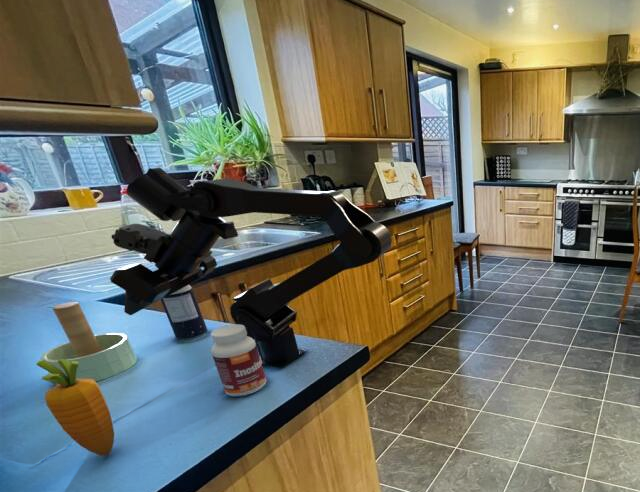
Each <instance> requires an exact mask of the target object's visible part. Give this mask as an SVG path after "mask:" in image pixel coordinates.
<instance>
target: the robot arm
mask: <svg viewBox="0 0 640 492" xmlns="http://www.w3.org/2000/svg"><path fill="white" fill-rule="evenodd" d="M125 193H126V196H128V198H130V199H132V200H133V201H134V202H136V203H137V204H138V205H140V206H141V207H142V208H144V209H145V210H146V211H148V212H150V213H151V214H152V215H154V216H155V217H156V218H158V219H159V221H163V222H169V221H173V222H177V223H176V225H175V226H174V228H173V229H172V231H171V232H170V233H167V232H165V231H163V230H160V229H157V228H154V227H151V226H148V225H145V224H142V223H131V224H126V225H123V226H119V227H118V228H117V229H115V232H114V233H113V234H111V236H110V238H111V239H112V240H113V242H112V243H113V244H114V245H115V246H116V247H117V248H121V249H124V250H128V251H130V252H131V251H134V252H137V253H140V254H145V255H144V256H143V259H144V260H145V261H147V262H149V263H150V264H151V263H153V264H154V266H155V267H156V268H157V269H155V270H152V269H150V268H149V267H147V266H145V265H144V264H142V263H131V264H128V265H125V266H122V267H120V268H117V269H115V270H114V272H113V273H112V275H111V276H110V277H109V280H110V282H111V283H112V284H114V285H116V286H117V287H119V288H120V289H122V290H123V291H125V298H124V308H123V309H124V310H123V311H124V313H125V314H127V315H128V316H133V315H135V314H137V313H139V312H140V311H143V310H144V309H146V308H147V307H149V306H151V305H153V304H155V303H157V302H158V301H161V299H162V298H164V297H165V296H166V297H167V296H169V295H171V294H172V293H174V292H176V291H178V290H180V289H182V288H184V287H185V286H187V285H191V284H193V283H195V282H197V281H199V280H200V279H202V278H204V277H206V276H208V274H210V273H212V272H213V271H214V270H215V268H216V267H217V265H218V262H217V259H216V257H214V256H212V254H213V250H212V248H213V246H214V245H215V244H216V242H217V241H218V240H219V238H221V239H223V240H229V239H233V238H238V237H239V233H238V231H237V229H236V227H235V223H234V221H225V220H224V219H223V218H226V217H233V216H241V215H247V214H253V213H254V214H255V213H257V214H270V215H271V214H273V215H288V216H289V215H290V216H291V215H292V216H309V217H311V216H312V217H320V218H322V219H323V220H324V221H325V222H326V223H327V226H328V227H329V228H330V230H331V232H332V233H333V235H334V237H335V238H336V239H337V240H338V241H339V243H338V244H337V245H336V246H335V247H334V248H333V250H332V251H330V253H328V254H327V255H325V256H323V257H321V258H320V259H318V260H316V261H315V262H313V263H311V264H310V265H308V266H306V267H305V268H303V269H301V270H299V271H297V272H296V273H294V274H293V275H291V276H290V277H287V278H286V279H284V280H282V281H281V282H278V283H273V282H272V280H271V279H270V278H267V279H265V280H263V281H261V282H259V283H258V284H256V285H254V286H252V287H250V288H248V289H247V290H246V291H244V292H241V293H240V294H238V295H236V296H234V297H233V298H232V301H234V302H232V303H231V304H230V307H229V313H230V317H231V320H232V321H233V323H234V324H241V325H244V326H245V328H246V331H247V336H248V337H251V338H252V339H253V340H254V341H255V344H256V347H257V350H258V353H259V357H260V360H261V363H262V366H267V367H272V368H279V369H281V368H284V367H286V366H288V365H289V364H290V363H292V362H293V361H295V360H297V359H298V358H299V357H301V356H302V355H304V354H305V353H306V349H303V348H302V349H301V348H299V347H298V342H297V340H296V336H295V332H294V328H293V327H291V326H290V325H291V324H293V323H295V322H296V321H297V316H298V312H297V310H295V309H294V308H292V307H291V306H289V304H290V303H291V302H292V301H294V300H295V299H297V298H299V297H300V296H302V295H304V294H306V293H307V292H309V291H311V290H312V289H314V288H316V287H317V286H319V285H321V284H323V283H324V282H326V281H328V280H330V279H331V278H333V277H335V276H336V275H339V274H340V273H342V272H344V271H347V270H352V269H357V268H359V267H362V266H365V265H368V264H371V263H374V262H375V261H376V260H378V259H379V258H380V257H381V256H383V255H384V254H385V253H387V252H388V251H389V250H390V249H391V247H392V243H393V238H392V234H391V232H390V230H389V229H388V228H387V227H386V226H385V225H383V224H382V223H379V222H377V221H376V220H374V218H373V217H372V216H370V215H369V214H368V213H367V212H365V211H364V210H363V209H361V208H360V207H358V206H357V205H355V204H354V203H352V202H351V201H350V200H349V199H348V198H347V197H346V196H345V195H344V194H343V193H341V192H340V191H338V190H328V191H325V190H324V191H322V190H305V189H304V190H303V189H288V188H272V187H271V188H270V187H266V188H265V187H260V186H255V185H253V184H251V183H249V182H245V181H241V180H237V179H233V178H232V179H231V178H228V177H227V178H218V179H208V180H200V181H196V182H193V184H192V185H191V187H190V188H188V189H187V188H186V187H185V186H183V185H181V183H179V182H178V181H177V180H175V179H174V178H173V177H171V175H169V174H168V173H167V172H166V170H164V169H163V168H161V167H149V168H148V170H147V171H146V172H145V173H143V174H141V175H139V176H138V177H136V178H135V179H134V180H132V182H129V183H128V185H127V187H126V189H125ZM202 268H203V269H202Z"/></svg>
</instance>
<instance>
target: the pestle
mask: <svg viewBox="0 0 640 492" xmlns="http://www.w3.org/2000/svg"><path fill="white" fill-rule="evenodd" d="M51 309H52V311H53V312H54V315H55V317H56V318H57V320H58V322H59V324H60V326H61V328H62V329H63V332H64V334H65V335H66V337H67V340H68V342H70V343H71V345H72V347H73V349H74V351H75V353H76V354H77V357H75V358H79V357H83V356H87V355H91V354H94V353H97V352H101V351H103V350H101V348H100V346H99V344H98V342H97V340H96V337H95V335H96V334H95V333H94V332H93V329H92V327H91V325H90V324H89V321H88V319H87V317H86V315H85V313H84V311H83V309H82V307H81V305H80V303H79V302H78V301H68V302H63V303H59V304H56V305H54V306H52V307H51Z"/></svg>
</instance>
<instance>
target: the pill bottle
mask: <svg viewBox="0 0 640 492" xmlns="http://www.w3.org/2000/svg"><path fill="white" fill-rule="evenodd" d="M210 336H211V339H212V341H213V343H214V344H213V345H212V347H211V349H210V353H211V356H212V359H213V362H214V364H215V367H216V370H217V373H218V377H219V380H220V382H221V384H222V387H223V390H224V393H225V394H226V395H228V396H229V397H243V396H248V395H253V394H254V393H256V392H258V391H259V390H261V389H262V388H263V387H265V386H266V383H267V377H266V374H265V370H264V367H263V365H262V363H261V360H260V358H261V357H260V356H259V353H258V349H257V346H256V343H255V340H253V339H252V338H251V337H248V336H247V331H246V328H245V326H244V325H241V324H236V323H234V324H227V325H223V326H221V327H217V328H215V329H214V330H212V332H210Z"/></svg>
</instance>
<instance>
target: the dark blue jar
mask: <svg viewBox="0 0 640 492" xmlns="http://www.w3.org/2000/svg"><path fill="white" fill-rule="evenodd" d="M160 302H161V304H162V307H163V308H164V313H165V314H166V316H167V317H166V318H168V322H169V324H170V327H171V330H172V332H173V335H174V337H175V338H176V339H178V340H180V341H181V340H183V341H185V340H192V339H196V338H200V337H201V336H203V335H205V334H206V333H207V332H208V327H207V324H206V322H205V319H204V316H203V313H202V310H201V308H200V305H199V303H198V300H197V296H196V294H195V292H194V288H193V287H192V286H191V284H189V285H187V286H185V287H184V288H182V289H180V290H178V291H176V292H174V293H172V294H171V295H169V296H167V297H166V296H165V297H164V298H162V299H160Z"/></svg>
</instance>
